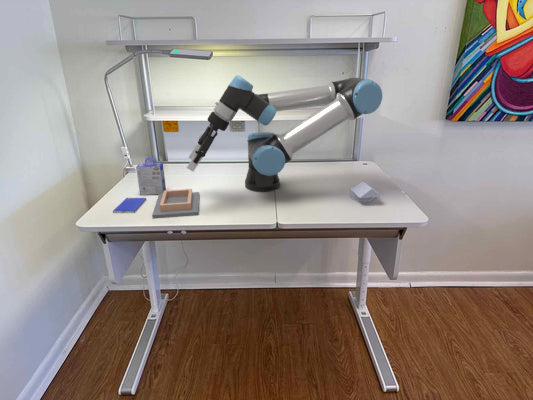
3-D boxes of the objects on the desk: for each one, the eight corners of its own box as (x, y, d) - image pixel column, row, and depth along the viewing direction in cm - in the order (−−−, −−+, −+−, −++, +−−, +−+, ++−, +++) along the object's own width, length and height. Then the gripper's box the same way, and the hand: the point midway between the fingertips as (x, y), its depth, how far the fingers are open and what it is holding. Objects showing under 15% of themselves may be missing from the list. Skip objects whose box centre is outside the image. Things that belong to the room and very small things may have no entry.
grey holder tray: (199, 194, 148) (198, 186, 147) (198, 214, 130) (197, 205, 129) (159, 197, 146) (158, 188, 145) (152, 218, 128) (151, 208, 127)
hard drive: (125, 197, 144) (112, 210, 132) (146, 197, 143) (134, 210, 132) (126, 201, 144) (113, 214, 133) (146, 201, 144) (135, 214, 133)
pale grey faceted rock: (381, 204, 137) (367, 192, 149) (383, 188, 135) (369, 176, 147) (358, 206, 136) (346, 193, 148) (360, 189, 134) (347, 178, 145)
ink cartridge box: (166, 189, 154) (162, 156, 149) (164, 194, 149) (159, 160, 144) (143, 190, 154) (138, 157, 148) (139, 195, 149) (134, 161, 143)
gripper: (212, 105, 141) (183, 150, 146) (213, 116, 118) (179, 168, 123) (228, 116, 143) (199, 160, 148) (232, 129, 121) (198, 180, 126)
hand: (190, 164), depth 136 cm, fingers open, 13 cm apart
